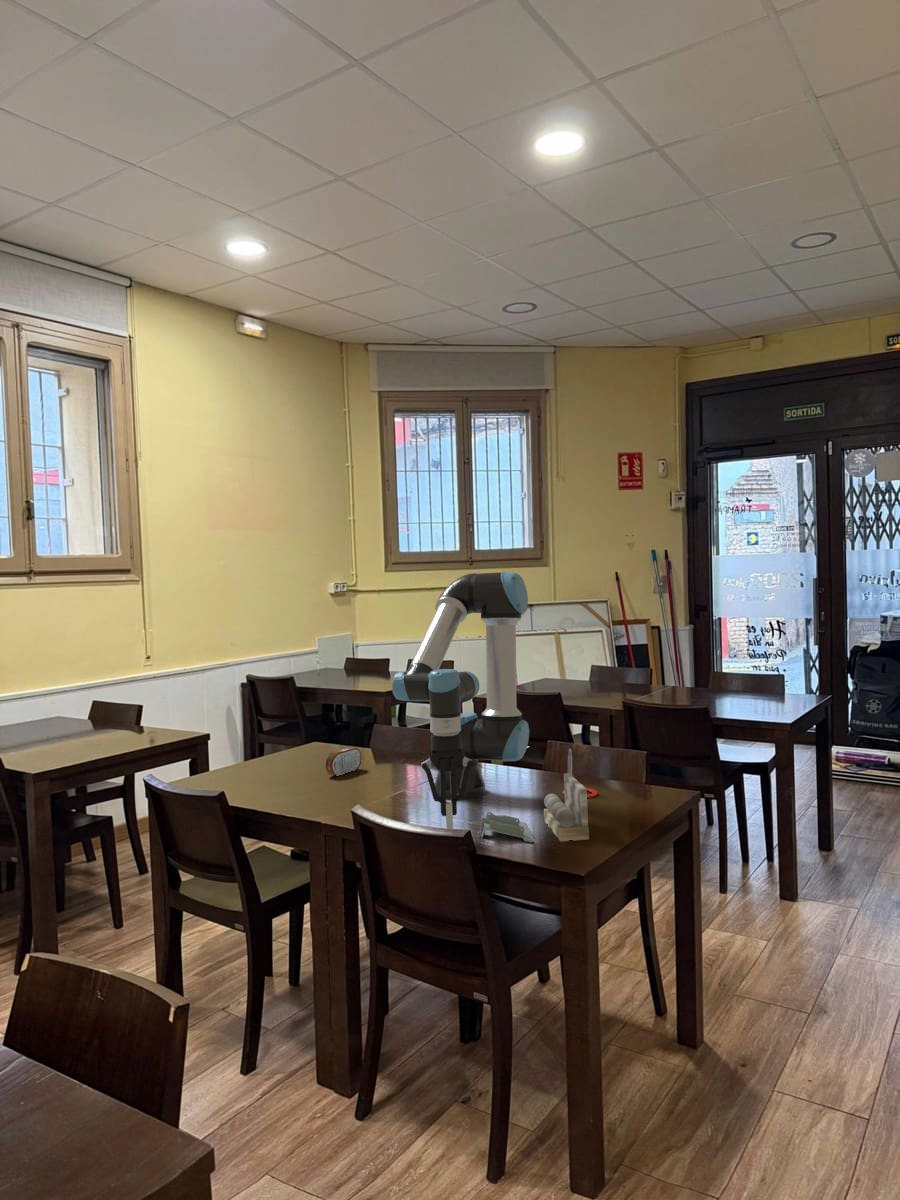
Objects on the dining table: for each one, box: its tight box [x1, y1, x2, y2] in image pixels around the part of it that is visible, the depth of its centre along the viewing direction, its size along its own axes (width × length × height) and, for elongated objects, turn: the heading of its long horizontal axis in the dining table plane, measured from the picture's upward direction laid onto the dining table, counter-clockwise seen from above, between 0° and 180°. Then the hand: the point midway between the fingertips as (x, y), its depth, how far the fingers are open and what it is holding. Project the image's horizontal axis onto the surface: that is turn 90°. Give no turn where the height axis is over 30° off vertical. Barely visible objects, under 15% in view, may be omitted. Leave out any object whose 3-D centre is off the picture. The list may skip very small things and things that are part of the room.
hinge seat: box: [543, 772, 590, 842], centre depth 205 cm, size 17×7×12 cm, turn 7°
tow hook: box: [561, 748, 598, 797], centre depth 236 cm, size 8×13×9 cm
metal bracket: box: [476, 811, 537, 844], centre depth 203 cm, size 14×6×15 cm
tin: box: [325, 746, 362, 777], centre depth 271 cm, size 15×3×8 cm, turn 144°
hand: (449, 828), depth 202 cm, fingers closed
